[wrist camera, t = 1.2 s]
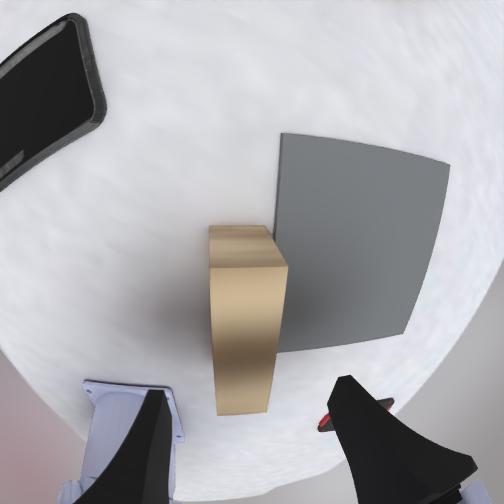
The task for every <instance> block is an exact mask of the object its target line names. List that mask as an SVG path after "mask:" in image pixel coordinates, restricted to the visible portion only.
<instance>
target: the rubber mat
mask: <svg viewBox="0 0 504 504" xmlns="http://www.w3.org/2000/svg"><path fill="white" fill-rule="evenodd" d="M449 171H450V164H446V163H443V162H439V161H436V160H432V159H428V158H425V157H421V156H417V155H413V154H409V153H405V152H400V151H396V150H391V149H386V148H382V147H377V146H371V145H366V144H361V143H355V142H349V141H342V140H336V139H329V138H321V137H313V136H304V135H295V134H284V133H281V145H280V160H279V174H278V188H277V201H276V214H275V226H274V238H273V240H274V242H275V244H276V246H277V247H278V249H279V251H280V253H281V254H282V256H283V258H284V260H285V262H286V263H287V265H288V274H287V282H286V290H285V298H284V305H283V313H282V320H281V327H280V334H279V341H278V347H277V353H280V352H291V351H300V350H309V349H317V348H325V347H332V346H339V345H346V344H352V343H358V342H364V341H370V340H375V339H380V338H385V337H390V336H395V335H400V334H403V333H404V331H405V328H406V326H407V324H408V321H409V319H410V316H411V314H412V311H413V309H414V306H415V303H416V301H417V298H418V295H419V292H420V290H421V287H422V284H423V281H424V278H425V275H426V272H427V268H428V265H429V262H430V258H431V255H432V251H433V248H434V244H435V240H436V237H437V233H438V229H439V224H440V220H441V216H442V211H443V206H444V201H445V196H446V190H447V184H448V178H449Z"/></svg>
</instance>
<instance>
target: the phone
mask: <svg viewBox="0 0 504 504" xmlns="http://www.w3.org/2000/svg"><path fill="white" fill-rule="evenodd" d="M101 90H102V92H101ZM106 110H107V104H106V99H105V95H104V92H103V88H102V85H101V81H100V77H99V73H98V69H97V65H96V61H95V57H94V52H93V48H92V43H91V39H90V34H89V29H88V24H87V21H86V20H85V19H84V18H83V17H82V16H80V15H79V14H77V13H70V14H66V15H64V16H62V17H61V18H59V19H58V20H56V21H55V22H53V23H52V24H50V25H49V26H47V27H46V28H44V29H43V30H41V31H40V32H39V33H37V34H36V35H34V36H33V37H32V38H30V39H29V40H28V41H27V42H25V43H24V44H23V45H22V46H20V47H19V48H18V49H17V50H15V51H14V52H13V53H12V54H11V55H10V56H8V57H7V58H6V59H5V60H4V61H3V62H2V63H1V64H0V192H1V191H2V190H3V189H4V188H6V187H7V186H8V185H9V184H11V183H12V182H13V181H15V180H16V179H17V178H19V177H20V176H21V175H23V174H24V173H25V172H27V171H28V170H29V169H31V168H32V167H34V166H35V165H37V164H38V163H40V162H41V161H42V160H44V159H45V158H47V157H49V156H50V155H52V154H53V153H55V152H56V151H58V150H60V149H61V148H63V147H64V146H66V145H68V144H69V143H71V142H73V141H75V140H76V139H78V138H80V137H82V136H83V135H85V134H87V133H89V132H91V131H93V130H94V129H95V128H97V127H98V126H99V125H100V124H101V123H102V121H103V120H104V117H105V115H106Z"/></svg>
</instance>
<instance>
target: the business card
mask: <svg viewBox="0 0 504 504" xmlns="http://www.w3.org/2000/svg"><path fill="white" fill-rule="evenodd" d="M376 401H377V402H379V403H380V404H381V405H382V406H383V407H384V408H385V409H386V410H387V411H389V409H390V408H391V406H392V405H393V404H394V399H393V398H387V399H382V400H376ZM334 430H335V429H334V427H333V424H332V421H331V417H330V414H329V413H328V414H327V415H325V416H324V418H323V419H322V420H321V421H320V423H319V426H318V431H319V432H327V431H334Z"/></svg>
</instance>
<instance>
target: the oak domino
mask: <svg viewBox="0 0 504 504" xmlns="http://www.w3.org/2000/svg"><path fill="white" fill-rule="evenodd" d="M209 262H210V303H211V328H212V348H213V366H214V381H215V395H216V408H217V416H225V415H242V414H255V413H265V412H267V409H268V403H269V397H270V391H271V385H272V379H273V373H274V367H275V360H276V354H277V347H278V341H279V334H280V327H281V320H282V313H283V305H284V298H285V290H286V282H287V274H288V265H287V263H286V262H285V260H284V258H283V256H282V254H281V253H280V251H279V249H278V247H277V246H276V244H275V242H274V240H273V238H272V237H271V235H270V233H269V231H268V230H267V228H266V226H209Z"/></svg>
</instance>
